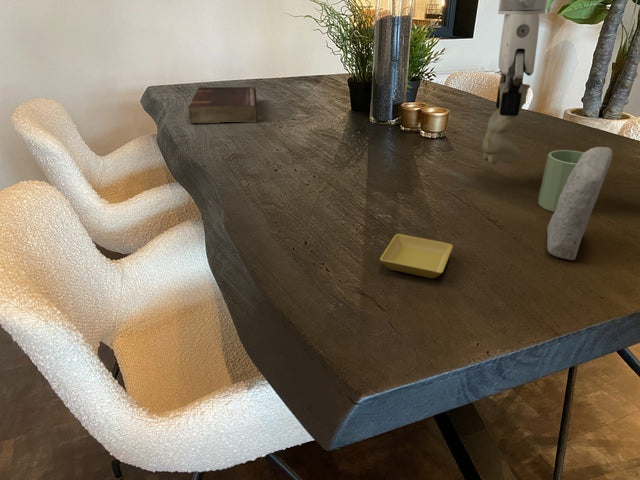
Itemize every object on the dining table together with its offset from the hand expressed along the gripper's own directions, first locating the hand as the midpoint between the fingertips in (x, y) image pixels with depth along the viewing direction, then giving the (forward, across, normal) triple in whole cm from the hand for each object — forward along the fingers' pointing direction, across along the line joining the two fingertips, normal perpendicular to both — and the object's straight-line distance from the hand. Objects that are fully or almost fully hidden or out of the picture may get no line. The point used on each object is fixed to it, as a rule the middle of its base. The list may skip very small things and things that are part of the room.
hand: (506, 110), depth 91 cm
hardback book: (+12, +48, +76) cm, 90 cm away
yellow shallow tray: (+14, -36, +15) cm, 41 cm away
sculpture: (+10, 0, 0) cm, 10 cm away
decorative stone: (+15, -26, -7) cm, 31 cm away
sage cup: (+15, -10, -10) cm, 20 cm away
